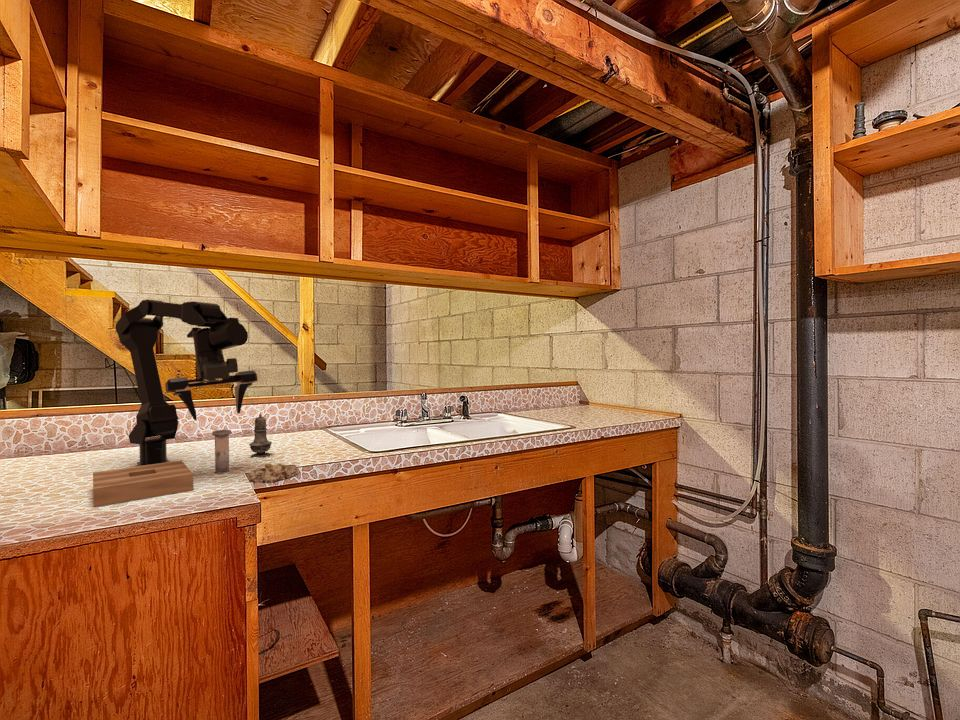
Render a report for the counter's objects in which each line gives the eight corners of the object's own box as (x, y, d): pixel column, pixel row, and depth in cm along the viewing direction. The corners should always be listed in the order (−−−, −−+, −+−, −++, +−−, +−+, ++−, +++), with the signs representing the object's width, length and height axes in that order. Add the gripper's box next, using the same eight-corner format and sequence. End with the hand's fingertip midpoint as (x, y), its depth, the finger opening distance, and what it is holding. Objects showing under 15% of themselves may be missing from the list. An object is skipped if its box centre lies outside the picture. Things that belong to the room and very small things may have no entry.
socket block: (93, 488, 96) (92, 472, 96) (181, 474, 107) (181, 460, 107) (93, 507, 84) (93, 488, 84) (193, 490, 95) (193, 473, 95)
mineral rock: (254, 476, 97) (246, 460, 103) (252, 495, 98) (244, 477, 104) (304, 470, 104) (294, 455, 110) (302, 486, 105) (292, 471, 111)
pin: (211, 471, 110) (210, 430, 110) (229, 468, 113) (229, 429, 113) (214, 474, 107) (214, 432, 107) (233, 471, 110) (232, 431, 110)
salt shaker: (276, 455, 128) (275, 413, 128) (256, 459, 123) (255, 415, 123) (264, 452, 131) (264, 411, 131) (244, 456, 126) (244, 414, 126)
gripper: (166, 350, 97) (175, 422, 96) (258, 344, 109) (267, 408, 108) (161, 358, 105) (169, 424, 105) (247, 352, 118) (256, 410, 117)
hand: (217, 416), depth 108 cm, fingers open, 9 cm apart
